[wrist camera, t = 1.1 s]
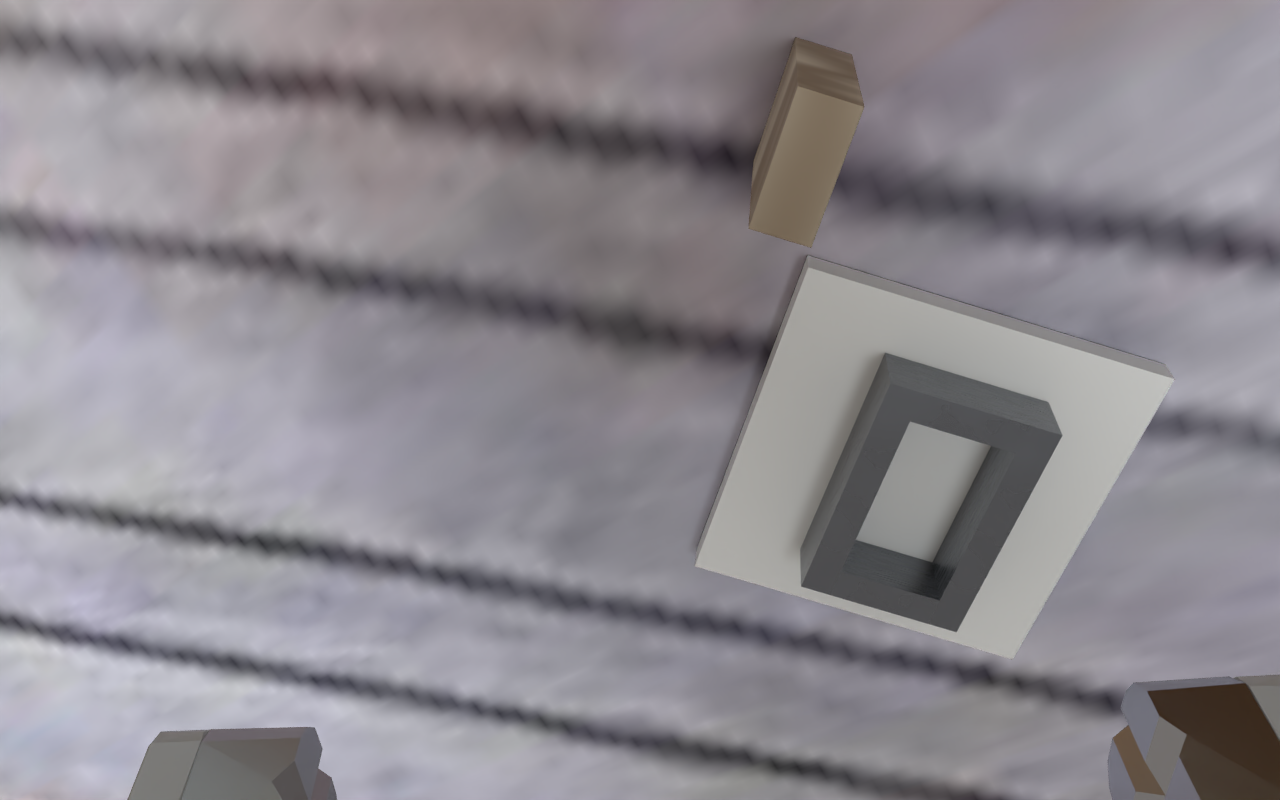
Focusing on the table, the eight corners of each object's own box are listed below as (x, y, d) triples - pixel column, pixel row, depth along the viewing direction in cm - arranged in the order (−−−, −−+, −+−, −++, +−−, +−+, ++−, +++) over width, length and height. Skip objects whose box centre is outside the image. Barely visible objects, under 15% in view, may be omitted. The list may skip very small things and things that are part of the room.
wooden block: (851, 54, 40) (864, 106, 34) (806, 177, 42) (811, 247, 36) (795, 36, 40) (797, 85, 34) (753, 161, 42) (748, 228, 36)
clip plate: (1165, 364, 44) (1174, 379, 43) (1007, 641, 51) (1012, 659, 50) (807, 255, 43) (808, 267, 42) (696, 549, 50) (694, 566, 49)
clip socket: (1048, 402, 44) (1062, 435, 42) (948, 593, 48) (956, 632, 46) (885, 352, 44) (890, 383, 41) (800, 549, 48) (800, 586, 46)
